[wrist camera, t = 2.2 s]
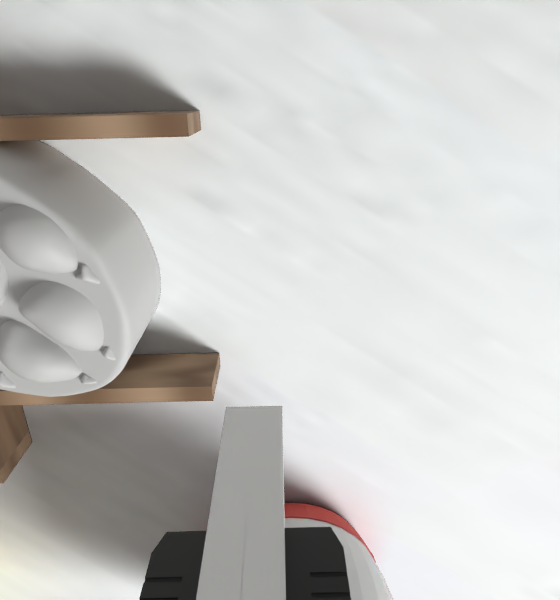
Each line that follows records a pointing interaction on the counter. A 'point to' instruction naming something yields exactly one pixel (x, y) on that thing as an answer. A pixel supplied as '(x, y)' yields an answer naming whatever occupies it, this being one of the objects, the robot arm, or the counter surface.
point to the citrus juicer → (359, 560)
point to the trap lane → (139, 368)
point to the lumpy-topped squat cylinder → (68, 275)
